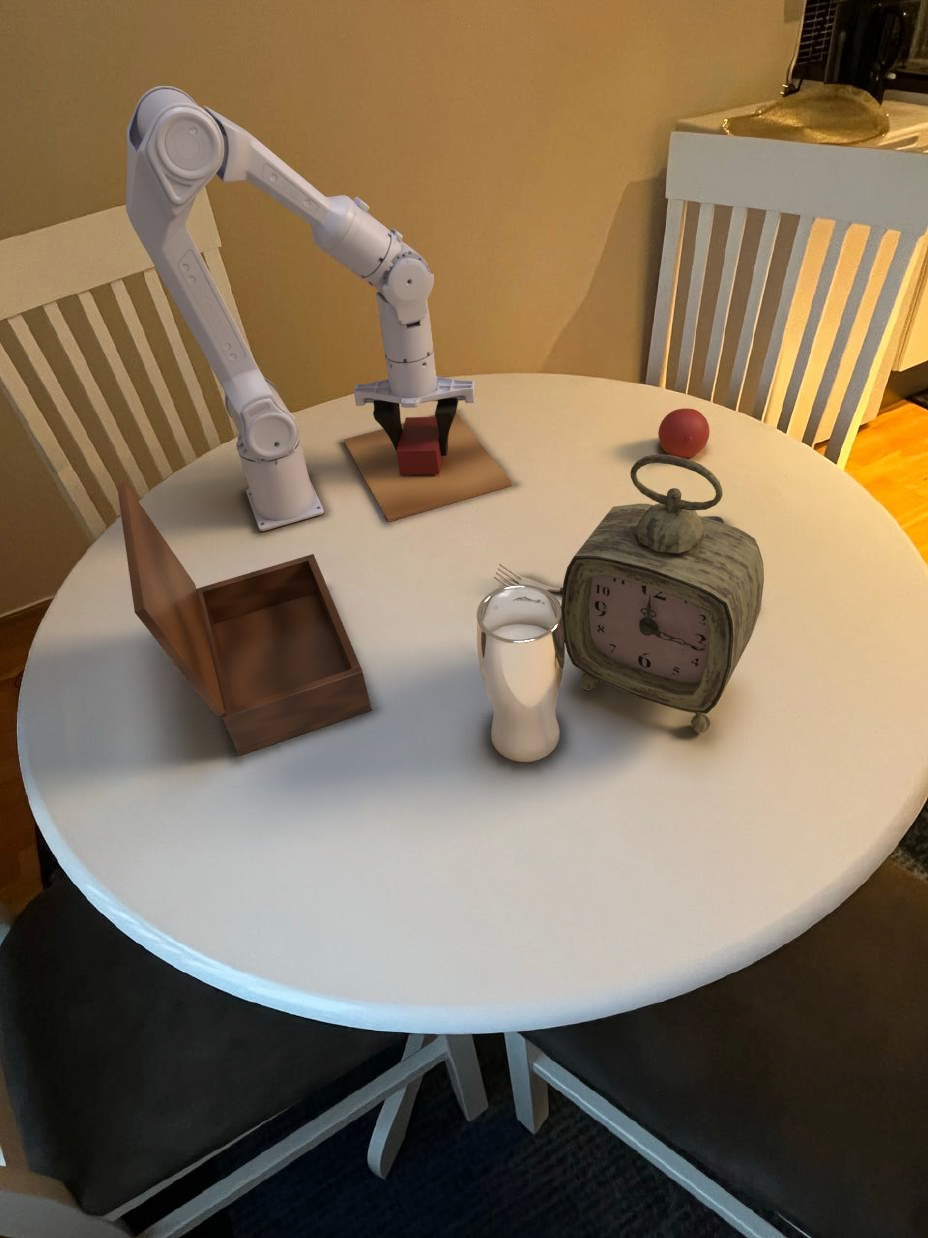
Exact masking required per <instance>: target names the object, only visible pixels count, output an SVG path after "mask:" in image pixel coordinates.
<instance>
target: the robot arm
mask: <svg viewBox="0 0 928 1238" xmlns="http://www.w3.org/2000/svg"><path fill="white" fill-rule="evenodd" d="M202 106H203V107H201V106H199V105H198V103H197V102H196V101H195V99H194V98H192V96H190V95H189V94H188V93H187V92H185V91H184V90H182V89H180V88H178V87H175V86H172V85H171V86H170V85H158V86H154V87H152V88H151V89H149V90H147V91H146V92H145V93H143V94H142V95H141V97H140V98H139V100H138V102H137V103H136V106H135V109H134V111H133V114H132V116H131V118H130V120H129V123H128V125H127V128H126V147H127V157H126V158H127V159H126V160H127V161H126V185H125V186H126V190H125V192H126V193H125V211H126V214H127V217H128V220H129V222H130V223H131V225H132V228H133V230H134V231H135V233H136V235H137V237H138V239H139V240H140V242H141V244H142V246H143V248H144V249H145V251H146V254H147V255H148V256H149V258H150V260H151V262H152V264H153V266H154V267H155V269H156V271H157V273H158V275H159V276H160V278H161V281H162V282H163V284H164V285H165V287H166V289H167V290H168V293H169V294H170V296H171V298H172V300H173V301H174V303H175V305H176V307H177V309H178V310H179V312H180V314H181V316H182V318H183V319H184V321H185V323H186V324H187V326H188V328H189V330H190V332H191V334H192V335H193V337H194V339H195V341H196V343H197V345H198V346H199V348H200V350H201V351H202V354H203V355H204V357H205V359H206V361H207V363H208V364H209V366H210V368H211V369H212V371H213V373H214V375H215V377H216V378H217V381H218V382H219V384H220V386H221V388H222V389H223V391H224V405H225V408H226V409H225V410H226V412H227V414H228V416H229V417H230V418H231V419H232V422H233V423H234V425H235V427H236V429H237V432H238V435H237V441H236V443H235V446H236V450H237V452H238V456H239V460H240V462H241V466H242V470H243V472H244V475H245V478H246V482H247V486H248V488H246V490H245V493H246V495H247V498H248V501H249V504H250V507H251V511H252V512H253V513H252V514H253V517H254V519H255V521H256V524H257V527H258V530H259V531H260V532H267V531H269V530H272V529H275V528H279V527H282V526H286V525H290V524H293V523H297V522H301V521H303V520H307V519H310V518H313V517H317V516H321V515H323V514H324V513H325V510H324V508H323V505H322V503H321V501H320V498H319V496H318V495H317V493H316V490H315V488H314V485H313V483H312V481H311V479H310V475H309V472H308V471H309V470H308V467H307V464H306V459H305V456H304V452H303V447H302V444H301V440H300V430H299V424H298V421H297V419H296V417H295V416H294V415H293V414H292V412H290V411H289V409H288V408H287V406H286V404H285V403H284V401H283V399H282V398H281V396H280V394H279V393H280V392H279V390H278V389H277V387H276V386H275V384H274V383H273V382H272V381H271V380H270V379H268V378H267V377H265V376H264V375H263V373H262V372H261V370H260V367H259V366H258V364H257V362H256V360H255V358H254V356H253V354H252V351H251V350H250V348H249V347H248V344H247V343H246V340H245V339H244V336H243V334H242V332H241V330H240V329H239V327H238V325H237V322H236V321H235V319H234V317H233V315H232V313H231V311H230V309H229V307H228V305H227V303H226V301H225V299H224V297H223V296H222V293H221V291H220V290H219V288H218V285H217V283H216V282H215V280H214V278H213V276H212V274H211V272H210V270H209V268H208V266H207V264H206V261H205V260H204V258H203V256H202V254H201V252H200V250H199V248H198V246H197V244H196V242H195V241H194V238H193V236H192V234H191V233H190V230H189V229H188V227H187V222H188V218H189V216H190V213H191V210H192V208H193V205H194V203H195V201H196V198H197V196H198V195H199V194H200V193H201V192H202V190H203V189H204V188H205V187H206V186H207V185H208V184H209V183H210V182H211V181H212V180H213V178H214V177H215V176H217V177H218V178H219V179H220V180H221V182H222V183H236V182H245V181H246V182H248V183H250V184H252V185H253V186H254V187H256V188H258V189H259V190H260V191H261V192H263V193H264V194H266V195H267V196H269V197H270V198H272V199H273V200H275V201H276V202H278V203H279V204H280V205H282V206H283V207H284V208H285V209H287V210H289V211H290V212H291V213H293V214H295V216H297V217H298V218H300V219H302V220H303V221H304V222H306V223H307V224H309V225H310V228H311V234H312V239H313V242H314V245H315V246H316V247H317V248H318V249H320V250H321V251H323V252H324V253H325V254H327V255H328V256H329V257H331V259H333V260H334V261H336V262H337V263H339V264H340V265H342V266H343V267H344V268H346V269H347V270H349V271H350V272H351V273H352V274H354V275H355V276H356V277H357V278H359V279H361V280H362V281H364V282H367V283H368V284H369V285H370V286H372V287H374V288H375V289H376V290H377V292H376V293H375V295H376V297H375V298H376V303H377V308H378V319H379V326H380V333H381V339H382V345H383V346H382V347H383V351H384V359H385V364H386V371H387V377H388V379H383V380H378V381H373V382H372V381H371V382H367V383H357V384H356V385H355V387H354V390H353V396H354V401H355V406H356V407H364V406H365V405H366V404H373V412H372V416H373V418H374V420H375V422H377V423H378V425H379V426H380V427H381V428H382V429H384V430H385V432H386V433H387V435H388V436H389V438H390V440H391V442H392V444H393V446H394V448H395V450H397V447H398V443H399V440H400V436H401V433H402V425H401V424H402V419H401V408H400V407H402V408H404V409H412V408H413V409H414V408H415V409H416V408H418V407H419V406H420V404H424V403H429V402H437V404H436V407H435V411H434V415H435V417H436V421H437V426H438V431H439V440H440V451H441V456H446V455H447V451H448V436H449V431H450V427H451V424H452V422H453V420H454V417H455V414H456V413H457V410H458V406H459V405H458V404H459V401H462V402H463V401H464V403H465V404H474V403H475V401H476V400H475V399H476V385H475V383H476V382H475V380H463V379H456V378H449V377H442V376H437V369H436V360H435V352H434V343H433V342H434V341H433V333H432V325H431V314H430V309H429V301H428V299H429V297H430V295H431V293H432V291H433V289H434V284H435V274H434V273H432V272H431V269H430V268H429V263H428V262H427V261H426V259H425V258H424V257H423V256H422V255H421V254H420V253H418V252H417V251H416V250H414V249H413V247H411V246H409V245H408V244H407V243H406V242H404V241H403V237H404V236H403V234H402V233H400V232H399V231H398V230H397V229H396V228H391V230H390V229H388V227H386V226H385V225H384V224H382V223H381V222H380V221H378V219H376V218H375V217H374V216H372V214H370V213H369V210H370V206H369V205H368V204H367V203H366V202H364V200H362V199H361V198H360V197H358V196H356V197H354V199H351V198H350V197H349V196H348V195H346V194H340V195H334V196H325V195H324V194H323V193H322V192H321V191H320V190H318V189H317V188H315V187H314V186H313V185H312V184H311V183H310V182H308V181H307V180H306V179H305V178H304V177H303V176H301V175H300V174H299V173H298V172H297V171H296V170H294V169H293V168H292V167H291V166H290V165H288V164H287V163H286V162H285V161H283V159H281V158H280V157H278V156H277V155H276V154H275V153H274V152H273V151H271V150H270V149H269V148H268V147H266V145H264V144H263V143H262V142H261V141H259V140H258V139H257V138H256V137H255V136H254V135H252V134H251V133H250V132H249V131H247V130H246V129H245V128H243V127H241V126H239V125H238V124H236V123H235V122H233V121H231V120H230V119H228V118H227V117H225V116H223V115H222V114H220V113H218V112H217V111H215V110H213V109H211V108H210V107H208V106H207V105H202ZM400 405H401V406H400ZM396 453H397V452H396Z"/></svg>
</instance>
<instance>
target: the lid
mask: <svg viewBox="0 0 928 1238" xmlns="http://www.w3.org/2000/svg"><path fill="white" fill-rule="evenodd" d="M116 488H117V495H118V497H117V498H118V503H119V511H120V517H121V525H122V532H123V539H124V545H125V552H126V561H127V567H128V575H129V581H130V582H129V583H130V588H131V590H130V591H131V596H132V603H133V610H134V611H133V612H134V614H135V615H136V616H137V618H138V619H139V620H140V621H141V622H142V624H143V625H144V626H145V628H146V629H147V630H148V631H149V633H150V634H151V636H153V638H154V639H155V641H156V642H157V643H158V644H159V646H160V647H161V648H162V650H163V651H164V652H165V653H166V655H167V656H168V657H169V658H170V660H171V661H172V663H174V664H175V666H176V667H177V669H178V670H179V671H180V672H181V674H182V675H183V676H184V677H185V678H186V680H187V681H188V683H189V684H190V685H191V686H192V688H193V689H194V690H195V692H196V693H197V694H198V695H199V697H201V699H202V700H203V701H204V703H205V704H206V705H207V707H208V708H209V709H210V710H211V711H212V713H213V714H214V715H215V717H219V716H222V714H224V713H225V711H224V706H223V702H222V698H221V693H220V689H219V685H218V680H217V676H216V672H215V667H214V663H213V659H212V654H211V650H210V646H209V641H208V637H207V633H206V628H205V624H204V620H203V616H202V611H201V607H200V603H199V598H198V594H197V590H196V589H197V586H196V585H197V584H196V583H195V582H194V580H193V579H192V577H191V576H190V574H189V573H188V571H187V570H186V569H185V567H184V566H183V564H182V563H181V561H180V560H179V559H178V557H177V555H176V553H175V552H174V551H173V550H172V548H171V547H170V545H169V544H168V542H167V541H166V539H165V538H164V536H163V535H162V533H161V532H160V531H159V529H158V527H157V526H156V524H155V523H154V522H153V520H152V518H151V517H150V516H149V515H148V513H147V511H146V510H145V509H144V507H143V505H142V504H141V503H140V501H139V500H138V498H137V497H136V496H135V494H134V492H133V491H132V490H131V488H130V486H129V485H128V483H127V481H123V482H120V483H117V485H116Z"/></svg>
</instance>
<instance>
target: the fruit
mask: <svg viewBox="0 0 928 1238" xmlns="http://www.w3.org/2000/svg"><path fill="white" fill-rule="evenodd" d="M657 433H658V442H659V444H660V446H661V448H662V449H663V450H664V452H665V453H666V455H672V456H677V457H681V458H685V459H691V458H693V457H695V456H697V455H698V454H699V453H701V452H702V451H703V450H704V448H705V447H706V445H707V443H708V441H709V438H710V425H709V422H708V420H707V418H706V416H705V415H704V414H703V413H702V412H700V411H699V410H696V409H693V408H678V409H675V410H672V411H670V412H669V413H667V414H666V415H665V416H664V417H663V419H662V420H661V422H660V424H659V426H658V432H657Z"/></svg>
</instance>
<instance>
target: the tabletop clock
mask: <svg viewBox="0 0 928 1238" xmlns="http://www.w3.org/2000/svg"><path fill="white" fill-rule="evenodd" d="M649 464H651V465H652V464H665V465H671V466H675V467H680V468H684V469H686V470H689V471H692V472H695V473H696V474H698V475H700V476H702V477H703V478H705V479H706V480H707V481H708V482H709V483H710V484H711V486H712V488H713V489H714V490H715V496H714V498H713V499H709V500H707V501H690V500H685V499H682V492H681V490H680V489H678V488H676V487H671V488H669V489H668V491H667V492H666V495H665V494H662V493H659V492H657V491H655V490H653V489H651V488H649V487H647V486H646V485H644V484H643V483H642V482H641V481H640V480H639V479H638V475H637V474H638V470H639V469H641V468H642V467H644V466H647V465H649ZM630 479H631V481H632V483H633V485H634V486H635V488H636V489H637V490H638V491H639V492H640V494H642V495H644V497H646V498H647V499H648V498H649V499H650V500H652V501H653V502H656V503H655V504H651V503H633V504H625V505H617V506H612V507H611V508H610V510H609V511H608V512H607V513H606V515H605V516H604V517H603V519H602V520H601V521H600V523H599V524H598V525H597V526H596V528H595V529H594V530H593V531H592V533H591V534H589V536H588V538H587V539H586V540H585V542H583V544H582V545H581V547H580V548H578V551H577V552H576V553H575V554H574V555H573V557H572V559H571V561H570V562H569V564H568V565H567V566H566V567H567V568H566V570H565V573H564V578H563V581H562V582H563V584H562V588H563V593H562V592H561V593H562V594H561V603H560V605H561V608H562V621H563V629H564V641H565V651H566V653H567V656H568V658H569V659H570V662H571V665H573V666H574V667H576V668H577V669H579V670H580V671H581V672H582V673H583V674H582V675H581V676H580V677H579V684H580V687H581V688H582V689H584V690H587V691H592V690H593V689H594V688H596V687H597V685H598V681H600V682H602V683H604V684H606V685H609V686H611V687H613V688H615V689H618V690H620V691H623V692H626V693H627V694H629V695H632V696H634V697H637V698H640V699H643V700H646V701H649V702H651V703H656V704H658V705H662V706H665V707H667V708H671V709H674V710H678V711H681V712H687V713H691V714H695V715H694V716H692V718H691V720H690V726H691V728H692V730H693V731H694V732H696V733H700V734H702V733H706V732H707V731H708V730H709V728H710V727H711V721H710V719H709V717H708V716H707V714H709V712H711V711H712V710H713V709H714V708H715V707H716V706H717V704H718V702H719V701H720V698H721V697H722V695H723V693H724V691H725V689H726V687H727V685H728V683H729V681H730V679H731V677H732V675H733V674H734V672H735V670H736V668H737V666H738V664H739V662H740V660H741V658H742V656H743V654H744V652H745V650H746V649H747V646H748V644H749V642H750V640H751V639H752V636H753V633H754V631H755V627H756V625H757V621H758V619H759V615H760V613H761V609H762V600H763V593H764V592H763V590H764V583H765V569H764V560H763V557H762V554H761V551H760V547H759V544H758V543H757V539H756V538H755V537H753V536H752V535H750V534H749V533H747V532H746V531H744V530H742V529H740V528H738V527H735V526H734V525H731V524H727V523H725V522H724V523H721V522H718V521H715V520H711V519H708V518H705V517H706V516H702V515H699V514H698V512H697V511H707V510H709V509H711V508H714V507H715V506H717V505H718V504H719V502H720V501H721V500H722V497H723V495H724V494H723V487H722V485H721V482H720V479H718V477H717V476H716V475H715V474H714V473H713V472H712V471H711V470H710V469H708V468H706V467H705V466H704V465H702V464H701V463H698V462H696V461H693V460H691V459H689V458H687V459H685V458H681V457H677V456H672V455H668V454H663V453H662V454H661V453H656V454H655V453H654V454H649V455H645V456H642V457H641V458H639V459H638V460H636V461H635V462H634V464H633V465H632V466H631V470H630Z"/></svg>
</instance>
